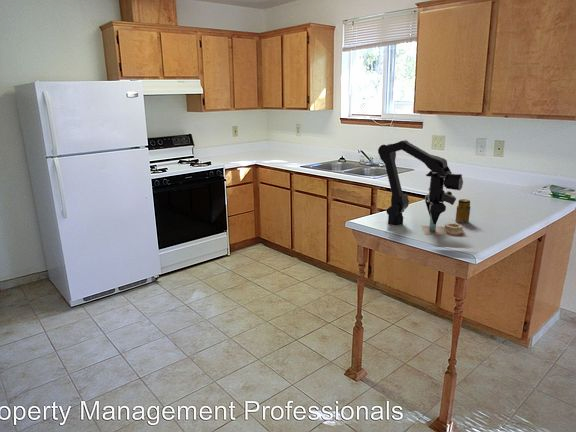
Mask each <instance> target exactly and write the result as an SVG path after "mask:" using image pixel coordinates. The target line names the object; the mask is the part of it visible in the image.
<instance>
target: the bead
mask: <svg viewBox="0 0 576 432" xmlns="http://www.w3.org/2000/svg"><path fill="white" fill-rule="evenodd" d="M444 227H445V229H444V231H445V232H446V233H449V234H461V233H462V229H463V228H464V227H463V225H462V224H461V223H457V222H455V223H454V222H448V223H445V224H444Z"/></svg>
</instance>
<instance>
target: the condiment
mask: <svg viewBox="0 0 576 432" xmlns="http://www.w3.org/2000/svg"><path fill="white" fill-rule="evenodd" d="M455 211H456V212H455V223H456V224H460V225H462V224H465V225H466V224H469V223H470V215H471V200H470V199H467V198H466V199H464V198H463V199H459V200H458V203H457V205H456V210H455Z"/></svg>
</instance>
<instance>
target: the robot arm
mask: <svg viewBox="0 0 576 432" xmlns="http://www.w3.org/2000/svg"><path fill="white" fill-rule="evenodd" d="M399 151H403V152H405V153H407V154H408V155H410V156H412V157H413V158H415V159H417V160H419V161H420V162H422V163H423V164H424V165H425V166H426V167H427V168H428V169H429V170H430V171H429V172H428V173H427V174H425V176H426V177H430V180H429V181H430V182H429V187H428V194H426V195H425V196H424V203H425V205H426V208H427V211H428V215H429V216H430V215H431V217H432V221H433V224H436V225H437V222H438V220H439V218H440V216H441V214H442V213H444V212H446V211H447V206H446V205H445V204H444V202H445V203H448V204H450V205H452V206H453V205H454V204H455V202H456V200H457V197H456V196H455V195H453V192H451V191H449V190H455V191H461V190H462V189H463V185H464V180H463V179H464V178H463V174H462V173H452V171H451V169H450V167H449V166H448V161H447V159H445V158H444V157H440V156H437V155H435V154H434V155H433V154H430V153H428V152H427V151H425V150H423V149H422V148H419V147H418V146H416V145H414V144H413V143H411V142H409V141H408V140H407V139H404V140H400V141H398V142H394V143H384V144H382V145H380V146H379V147H378V149H377V153H378V156H379V158H380V160H381V162H383V164H384V166H385V167H384V168H385V170H386V175H387V179H388V183H389V187H390V190H391V198H390V206H389V207H388V208H387V209H386V210H385V212H386V215H387V217H388V218H387V224H388V225H391V226H399V225H400V226H401V225H403V224H404V215H403V213H404V212H405V210H406V209H408V206H409V205H410V204H409V203H410V200H409V195H408V193H404V192H403V190H402V186H401V181H400V177H399V172H398V170H397V164H396V158H397V152H399ZM444 188H445V189H446V190H447V189H449V190H447V191H446V192H445V190H444Z"/></svg>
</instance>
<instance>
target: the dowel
mask: <svg viewBox="0 0 576 432" xmlns="http://www.w3.org/2000/svg"><path fill="white" fill-rule="evenodd" d="M428 226H429V231H431V232H435V231H436V226H437V223H436V224H433V221H432V217H431V215H429V225H428Z"/></svg>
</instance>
